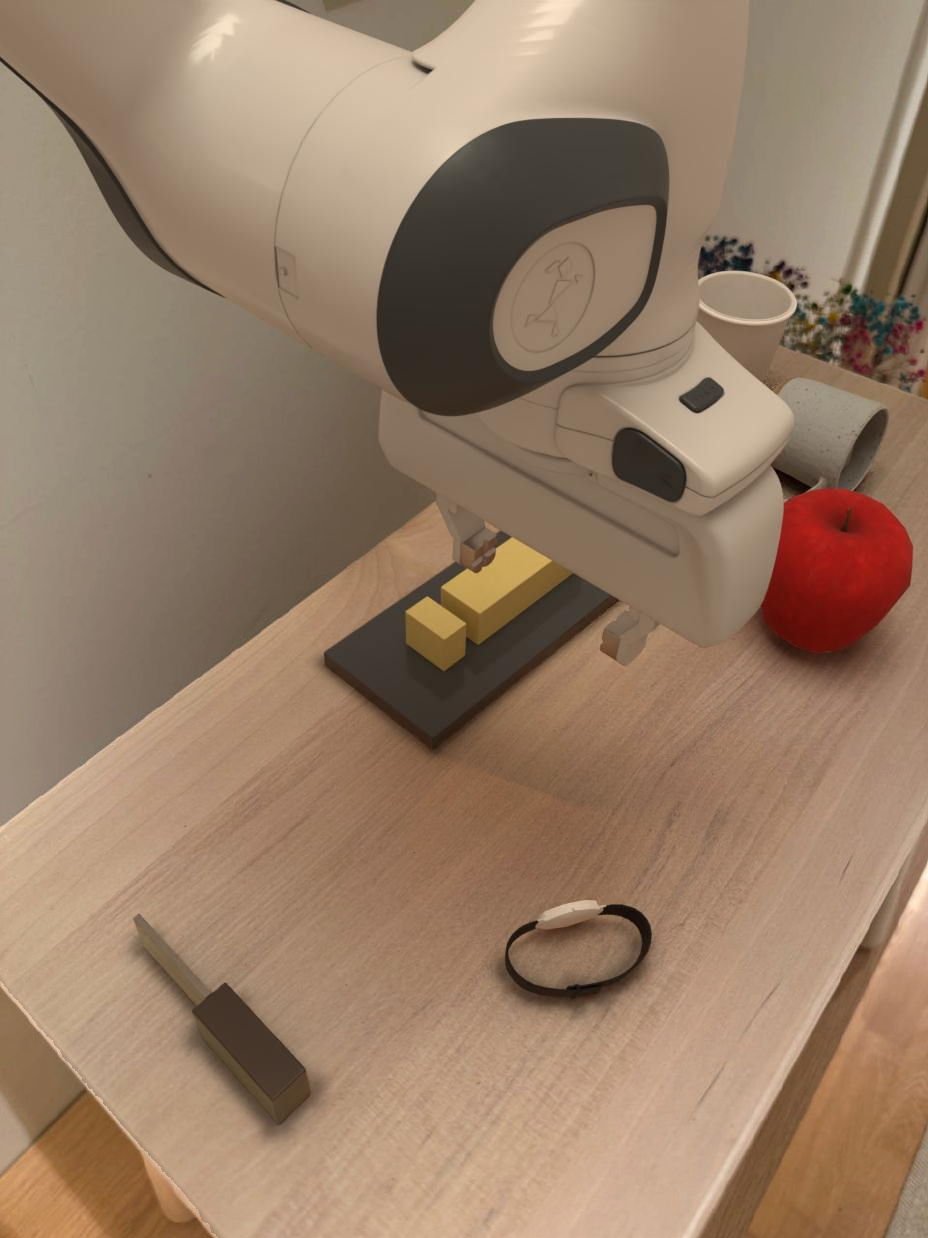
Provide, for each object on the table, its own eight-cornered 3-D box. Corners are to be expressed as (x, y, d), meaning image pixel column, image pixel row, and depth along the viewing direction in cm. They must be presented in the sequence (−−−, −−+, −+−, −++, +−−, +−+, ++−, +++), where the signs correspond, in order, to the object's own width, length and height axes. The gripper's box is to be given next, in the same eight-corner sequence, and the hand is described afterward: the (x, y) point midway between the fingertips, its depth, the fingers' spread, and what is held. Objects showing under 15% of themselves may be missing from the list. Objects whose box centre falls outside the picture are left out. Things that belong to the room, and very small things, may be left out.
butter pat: (443, 671, 68) (444, 639, 66) (405, 643, 69) (405, 611, 67) (465, 655, 69) (466, 623, 67) (427, 628, 70) (427, 595, 68)
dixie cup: (681, 366, 96) (701, 262, 89) (774, 384, 94) (803, 280, 87) (663, 416, 90) (683, 309, 83) (761, 437, 88) (791, 329, 81)
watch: (628, 906, 58) (638, 871, 55) (660, 986, 55) (672, 953, 52) (492, 936, 56) (495, 901, 54) (516, 1020, 53) (521, 988, 51)
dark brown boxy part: (278, 1125, 49) (272, 1101, 47) (130, 956, 55) (118, 928, 53) (311, 1094, 50) (306, 1069, 48) (162, 931, 56) (152, 902, 54)
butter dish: (432, 750, 65) (432, 738, 64) (324, 664, 70) (323, 652, 69) (622, 596, 75) (624, 584, 74) (516, 530, 79) (517, 518, 79)
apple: (869, 701, 68) (926, 578, 61) (723, 657, 71) (759, 534, 63) (887, 602, 75) (940, 480, 67) (752, 565, 77) (788, 443, 70)
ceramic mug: (783, 431, 89) (806, 351, 84) (873, 472, 85) (903, 391, 80) (715, 490, 84) (734, 409, 78) (808, 537, 80) (835, 455, 74)
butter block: (478, 646, 69) (479, 613, 67) (439, 618, 71) (440, 586, 69) (584, 565, 75) (588, 533, 73) (546, 542, 77) (550, 510, 75)
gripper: (343, 300, 46) (353, 541, 56) (750, 505, 37) (678, 750, 47) (440, 254, 50) (434, 488, 60) (834, 431, 41) (751, 673, 50)
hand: (544, 605), depth 53 cm, fingers open, 8 cm apart
